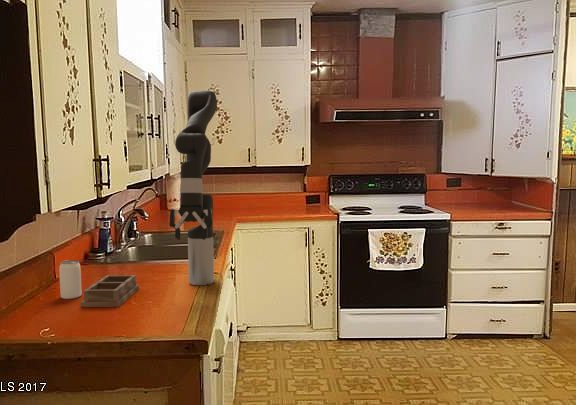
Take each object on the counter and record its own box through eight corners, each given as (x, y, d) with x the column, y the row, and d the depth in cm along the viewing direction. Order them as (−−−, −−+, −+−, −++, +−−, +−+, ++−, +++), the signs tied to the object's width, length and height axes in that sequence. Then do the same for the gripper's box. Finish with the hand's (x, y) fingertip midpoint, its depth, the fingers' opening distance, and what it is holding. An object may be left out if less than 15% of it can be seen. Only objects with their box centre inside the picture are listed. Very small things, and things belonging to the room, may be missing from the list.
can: (76, 299, 159) (75, 263, 158) (57, 299, 159) (55, 263, 158) (84, 293, 166) (83, 259, 165) (66, 294, 166) (64, 259, 165)
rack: (105, 288, 172) (104, 275, 172) (139, 288, 172) (138, 274, 172) (81, 306, 151) (80, 291, 151) (119, 306, 151) (118, 291, 151)
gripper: (213, 192, 168) (213, 239, 168) (172, 192, 167) (172, 239, 167) (211, 191, 160) (211, 240, 160) (168, 191, 160) (167, 240, 159)
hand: (191, 239), depth 164 cm, fingers open, 8 cm apart
